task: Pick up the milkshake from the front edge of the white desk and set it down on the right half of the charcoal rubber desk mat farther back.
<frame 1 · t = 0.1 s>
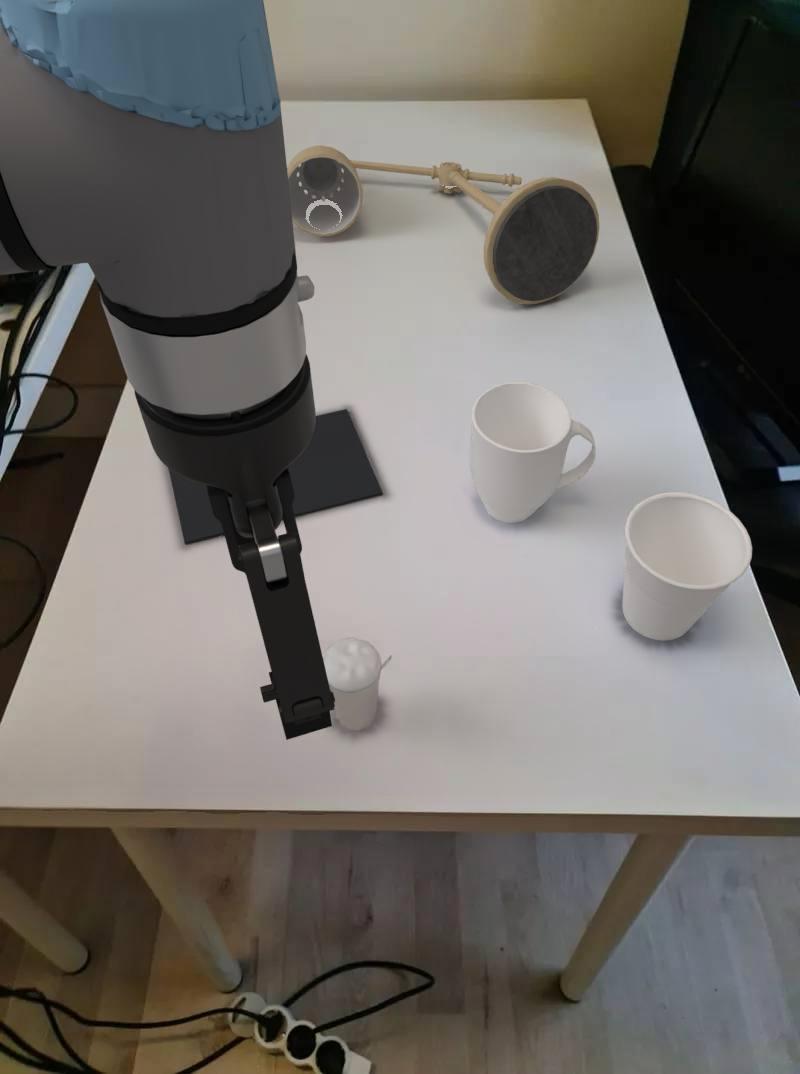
hand: (280, 632, 52), 19 cm above the table, tool pointing down, fingers open, 13 cm apart
milkshake: (361, 714, 69), on the table
desk lamp: (419, 236, 113), on the table
cup: (655, 614, 75), on the table
mug: (522, 504, 83), on the table
desk mat: (271, 473, 86), on the table
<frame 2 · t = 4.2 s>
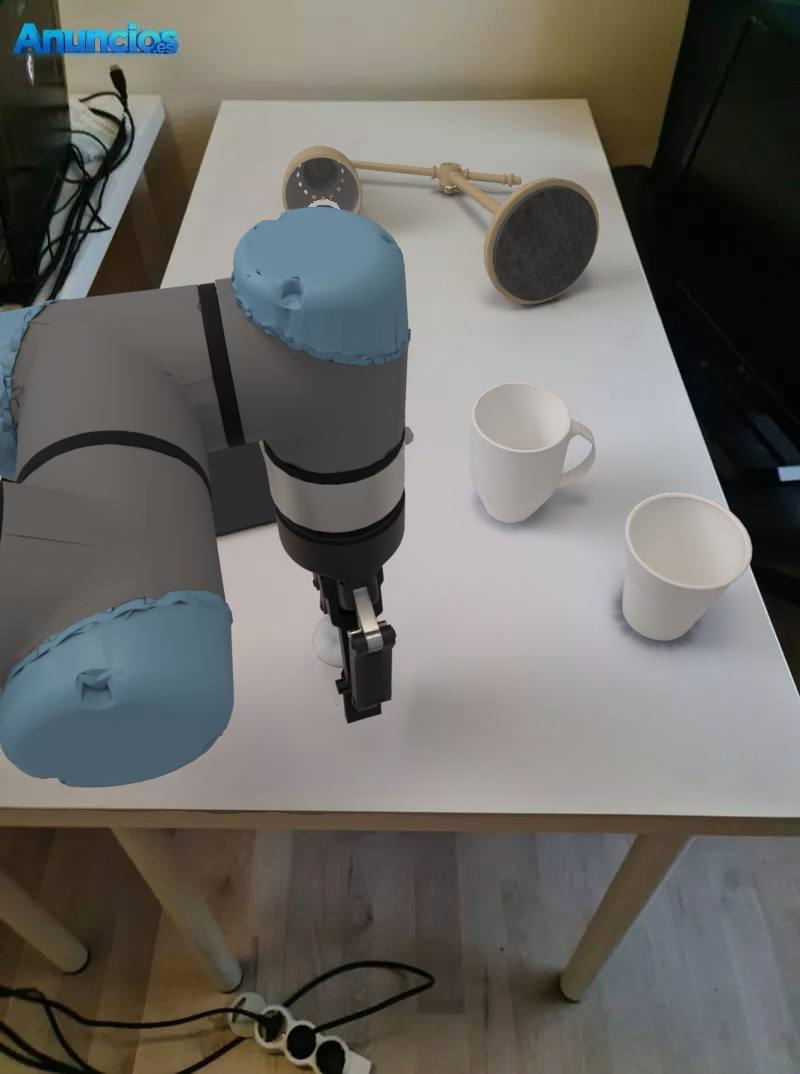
hand: (354, 687, 65), 5 cm above the table, tool pointing down, fingers closed on milkshake, 4 cm apart
milkshake: (352, 690, 65), point 4 cm above the table, touching gripper
everything else where it was.
when the fingers open (1 cm above the table, at t = 10.5 s): milkshake stays where it is, resting on desk mat.
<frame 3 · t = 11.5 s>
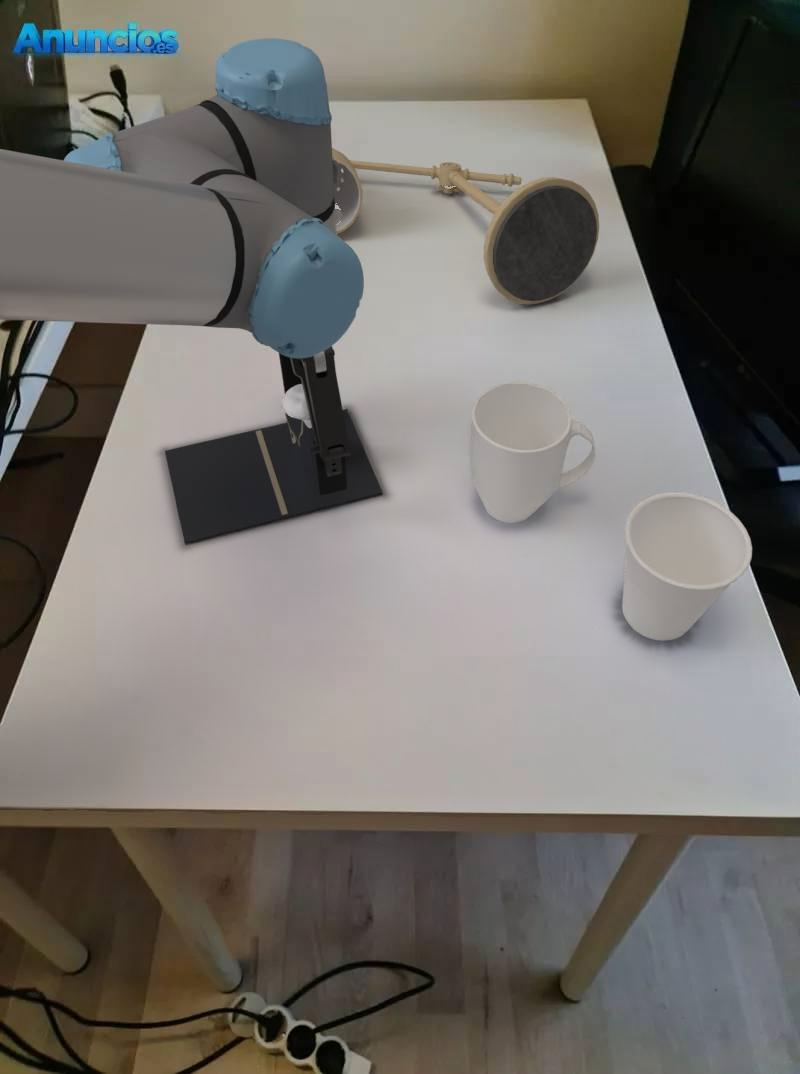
hand: (315, 442, 84), 3 cm above the table, tool pointing down, fingers open, 13 cm apart
milkshake: (316, 461, 87), resting on desk mat
everything else where it was.
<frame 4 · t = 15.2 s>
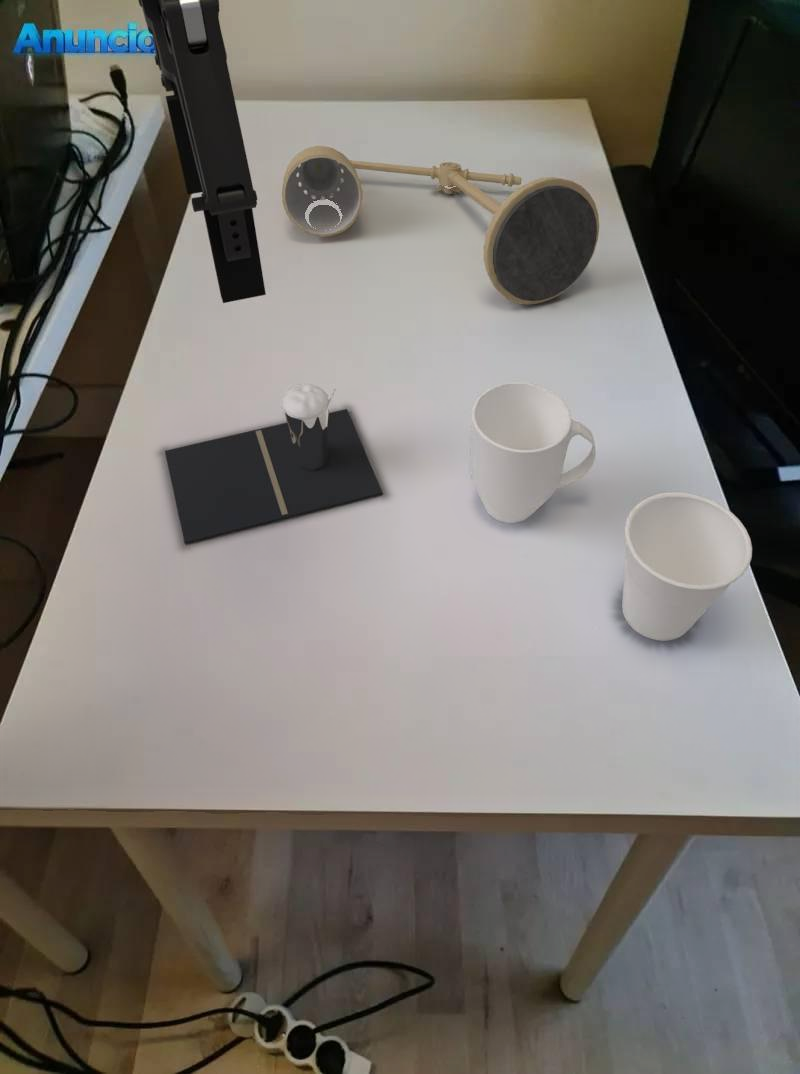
hand: (223, 239, 56), 32 cm above the table, tool pointing down, fingers open, 13 cm apart
nothing on the table moved.
at the end: milkshake inside the target area on the desk mat (0.6 cm from its centre), point 0.2 cm above the desk mat's base; milkshake tilted 0°; the gripper is holding nothing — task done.
